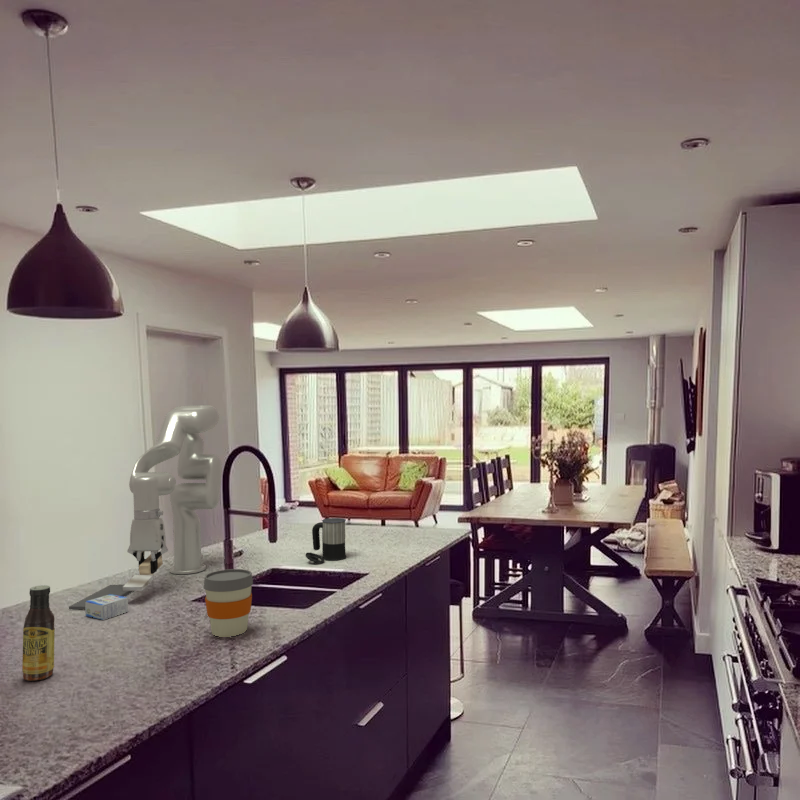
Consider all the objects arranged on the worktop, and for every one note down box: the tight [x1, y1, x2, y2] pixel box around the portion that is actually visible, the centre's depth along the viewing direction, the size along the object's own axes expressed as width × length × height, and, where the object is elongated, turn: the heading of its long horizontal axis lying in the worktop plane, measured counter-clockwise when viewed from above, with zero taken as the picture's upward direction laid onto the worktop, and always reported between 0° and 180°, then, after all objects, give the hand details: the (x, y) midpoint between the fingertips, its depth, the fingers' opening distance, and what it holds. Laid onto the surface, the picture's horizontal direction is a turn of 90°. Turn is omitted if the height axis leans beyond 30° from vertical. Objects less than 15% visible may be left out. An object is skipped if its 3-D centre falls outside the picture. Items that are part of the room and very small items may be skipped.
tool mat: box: [68, 584, 133, 610], centre depth 211 cm, size 24×10×1 cm, turn 175°
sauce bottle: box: [21, 584, 56, 682], centre depth 150 cm, size 7×6×20 cm
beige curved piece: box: [123, 553, 164, 592], centre depth 212 cm, size 18×6×4 cm, turn 175°
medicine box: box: [84, 594, 129, 621], centre depth 194 cm, size 8×4×9 cm
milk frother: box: [305, 517, 347, 564], centre depth 256 cm, size 14×16×15 cm
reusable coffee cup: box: [203, 568, 254, 638], centre depth 177 cm, size 13×13×15 cm
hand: (148, 572), depth 214 cm, fingers closed on beige curved piece, 2 cm apart
